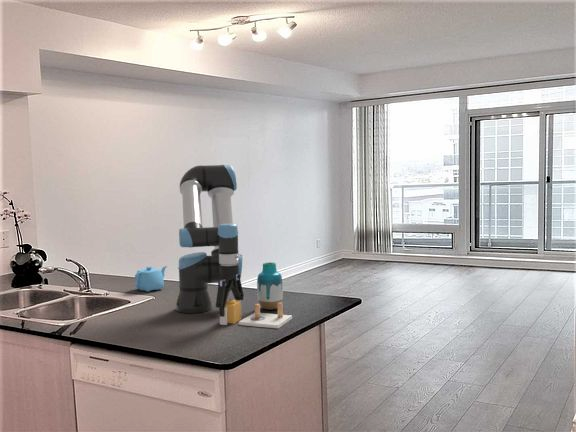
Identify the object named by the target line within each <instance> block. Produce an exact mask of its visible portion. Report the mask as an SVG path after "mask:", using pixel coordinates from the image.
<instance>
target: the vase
mask: <svg viewBox="0 0 576 432" xmlns="http://www.w3.org/2000/svg"><path fill="white" fill-rule="evenodd" d="M283 284H284V283H283V277H282V274H281V273H280V272H279V271H278V270H277V263H276V262H270V261H269V262H264V263H262V269H261V272H260V273H259V274H258V275H257V278H256V293H257V294H256V295H257V302H258V304H260V308H261V309H264V310H276V309H277V310H278V307H277V303H279V302H282V303H283V299H284V296H283V295H284V294H283V293H284V290H283V289H284V285H283Z"/></svg>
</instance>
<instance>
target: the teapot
mask: <svg viewBox="0 0 576 432" xmlns="http://www.w3.org/2000/svg"><path fill="white" fill-rule="evenodd" d="M167 267H168V265H164V266H162V268H161V269H158V268H154V267H152V266H146V267H145V268H144V269H138V270H137V271H136V273H135V275H134V279H135V288H136V289H138V290H140V291H143V292H144V291H145V293H148V292H151V291H154V290H155V291H159V290H161V289H164V285H165V282H164V281H165V280H164V279H165V273H166V272H165V271H166V268H167Z"/></svg>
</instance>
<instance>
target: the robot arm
mask: <svg viewBox="0 0 576 432" xmlns="http://www.w3.org/2000/svg"><path fill="white" fill-rule="evenodd" d="M236 177H237V176H236V172H235V170H234V167H233V166H232V165H230V164H218V165H217V164H215V165H214V164H213V165H201V164H200V165H195V166H193V167H191V168H189V169H187V171H186V172H185V173H184V174H183V176H182V178H181V179H180V182H179V192H180V194H181V195H182V213H183V214H182V217H183V218H182V219H183V227H182V228H179V229H178V237H179V238H178V239H179V246H180V247H181V248H189V249H191V248H201V247H214V248H213V249H212V250H211V252H210V253H211V254H210V255H208V254H207V253H206V252H202V251H200V252H198V251H197V252H193V253H188V254H185V255H182V256H181V257H179V259H178V268H177V269H178V278H179V279H178V283H179V285H178V286H179V294H178V296H177V300H176V303H175V310H176V312H178V313H182V314H197V313H205V312H208V311H211V310H213V301H212V298H211V295H210V292H209V289H208V286H209V285H208V284H217V292H216V293H217V294H216V302H215V307H216V308H217V309H219V310H218V312H219V313H218V314H219V325H222V326H227V325H228V323H227V308H226V307H225V306H226V302H227V300H228V299H229V293H230V292H231V293H232V295H233V297H234V298H233V299H234V300H235V301H237V302H241V303H242V301H243V300H244V291H243V287H242V286H243V285H242V281H241V279H242V278H241V277H242V271H243V254H242V253H239V230H238V229H239V228H238V224H237V223H233V209H232V196H233V195H234V194H235V191H236V190H237V187H238V186H237V185H238V184H237V178H236ZM203 192H207V196H208V197H209V198H211V212H212V215H211V216H212V227H207V226H206V227H203V215H202V203H201V202H202V201H201V194H202V193H203Z"/></svg>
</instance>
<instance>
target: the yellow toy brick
mask: <svg viewBox="0 0 576 432" xmlns="http://www.w3.org/2000/svg"><path fill="white" fill-rule="evenodd" d="M235 300H236V299H235V298H230V299H229V298H227V302H226V306H225V307H226V308H227V324H236V323H237V322H238V323H239V321H241V320H242V301H241V302H237V301H235Z"/></svg>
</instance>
